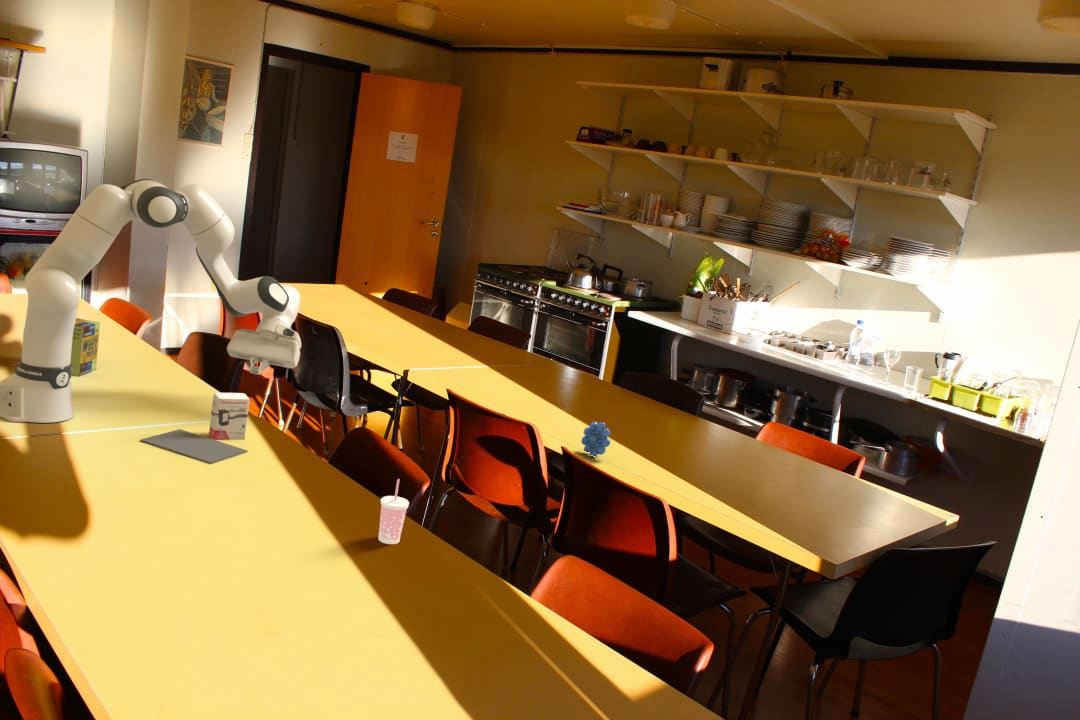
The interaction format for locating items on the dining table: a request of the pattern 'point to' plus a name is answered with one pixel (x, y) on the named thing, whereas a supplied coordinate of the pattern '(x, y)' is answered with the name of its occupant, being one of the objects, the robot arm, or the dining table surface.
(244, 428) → the ink box
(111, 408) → the dining table surface
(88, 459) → the dining table surface
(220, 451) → the mat
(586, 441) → the grapes
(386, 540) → the beverage cup
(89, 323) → the protein box
